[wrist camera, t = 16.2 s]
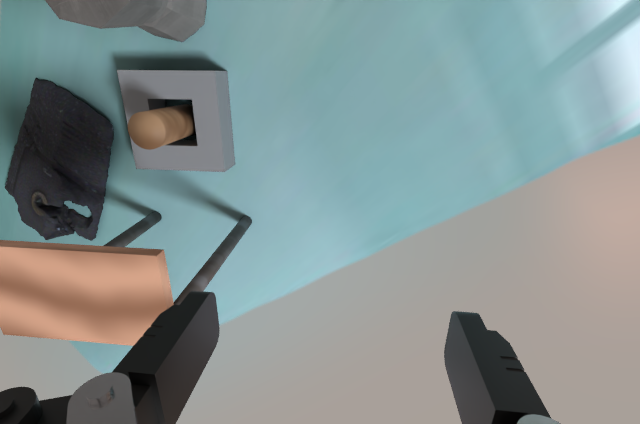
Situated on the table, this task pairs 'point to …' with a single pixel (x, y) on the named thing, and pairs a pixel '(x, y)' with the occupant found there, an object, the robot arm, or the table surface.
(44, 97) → the dark slate chunk
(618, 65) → the table surface
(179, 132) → the peg
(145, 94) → the socket
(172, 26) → the coffeepot
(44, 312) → the small wooden table
